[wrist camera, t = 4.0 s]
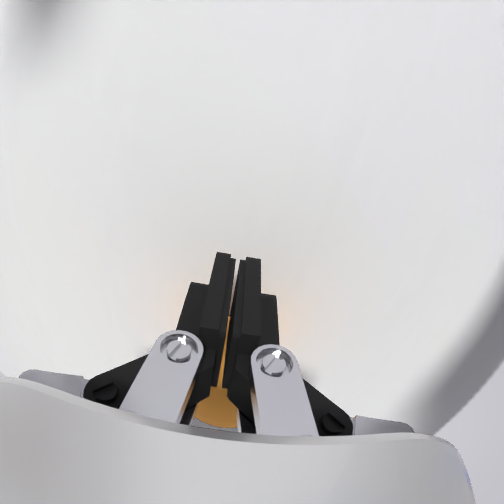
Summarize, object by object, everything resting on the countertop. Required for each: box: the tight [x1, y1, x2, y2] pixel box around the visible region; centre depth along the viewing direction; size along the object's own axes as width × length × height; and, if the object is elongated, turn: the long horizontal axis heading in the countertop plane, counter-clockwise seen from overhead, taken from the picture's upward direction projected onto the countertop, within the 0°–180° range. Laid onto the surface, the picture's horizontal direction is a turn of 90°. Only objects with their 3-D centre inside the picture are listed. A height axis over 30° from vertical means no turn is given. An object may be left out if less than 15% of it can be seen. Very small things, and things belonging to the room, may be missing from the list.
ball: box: [194, 316, 237, 428], centre depth 13 cm, size 6×6×6 cm
